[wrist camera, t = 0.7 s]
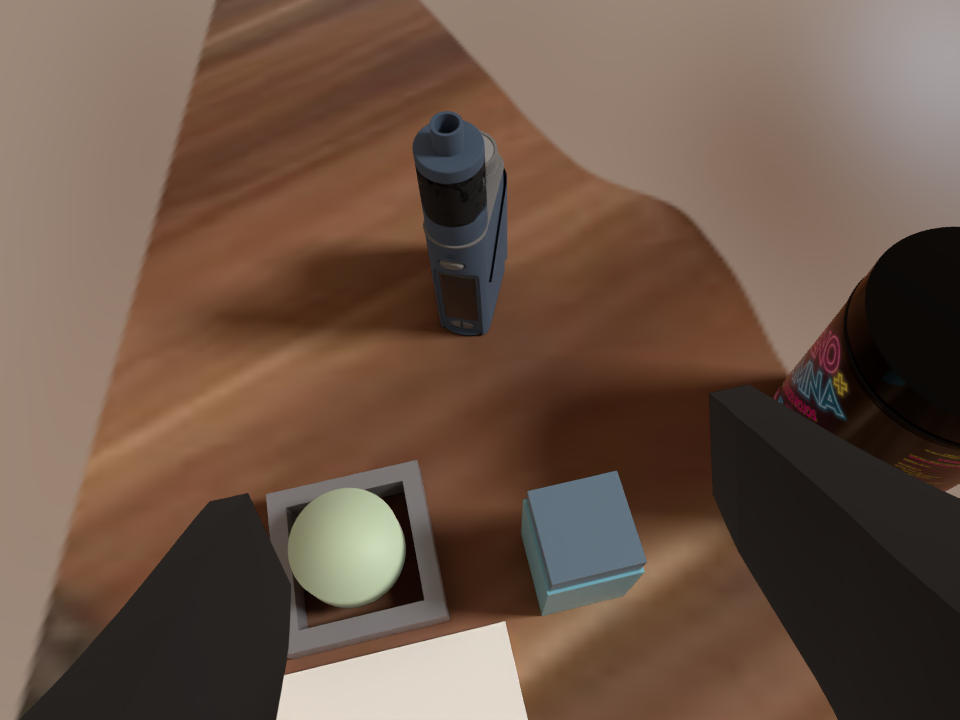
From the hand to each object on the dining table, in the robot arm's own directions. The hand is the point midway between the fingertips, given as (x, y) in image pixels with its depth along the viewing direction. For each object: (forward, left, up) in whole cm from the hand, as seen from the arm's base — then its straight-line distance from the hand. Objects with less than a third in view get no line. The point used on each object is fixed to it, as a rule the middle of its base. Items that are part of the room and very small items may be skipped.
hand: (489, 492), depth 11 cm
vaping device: (+15, -2, -18) cm, 23 cm away
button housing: (+4, +5, -18) cm, 19 cm away
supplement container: (+4, -15, -18) cm, 24 cm away
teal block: (+2, -3, -18) cm, 18 cm away
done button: (+4, +5, -16) cm, 17 cm away
